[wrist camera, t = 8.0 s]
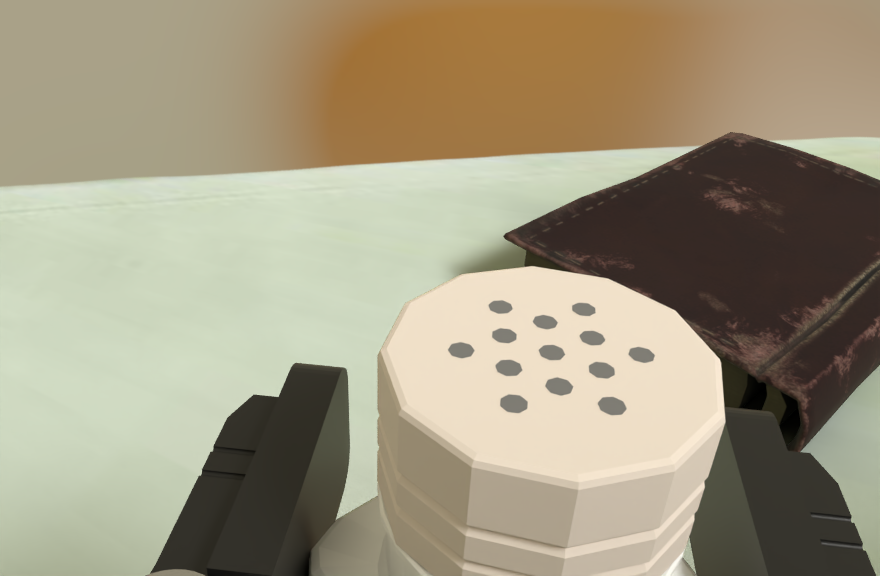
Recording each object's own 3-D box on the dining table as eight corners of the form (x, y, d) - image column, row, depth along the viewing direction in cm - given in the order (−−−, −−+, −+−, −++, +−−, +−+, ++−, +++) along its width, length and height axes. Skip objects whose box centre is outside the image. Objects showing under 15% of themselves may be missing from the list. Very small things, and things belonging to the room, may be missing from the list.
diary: (964, 287, 51) (999, 218, 48) (786, 484, 36) (822, 400, 33) (705, 182, 62) (722, 121, 59) (485, 301, 47) (493, 226, 44)
